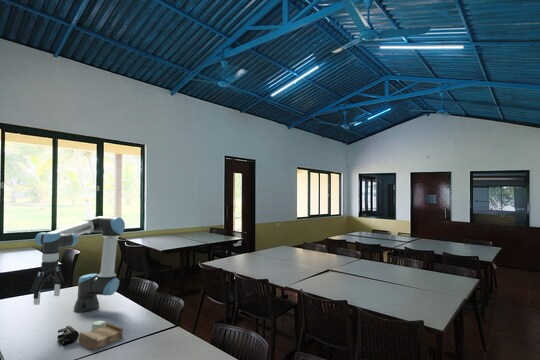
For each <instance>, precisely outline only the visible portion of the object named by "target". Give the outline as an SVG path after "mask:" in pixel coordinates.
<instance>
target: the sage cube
mask: <svg viewBox="0 0 540 360" xmlns="http://www.w3.org/2000/svg"><path fill="white" fill-rule="evenodd" d="M106 323H107V321H105V320H98V321H95V322H93V323H92V324H91V331H93V330H95V329H98V328H101V327H103V326H106Z"/></svg>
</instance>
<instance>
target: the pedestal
mask: <svg viewBox="0 0 540 360" xmlns="http://www.w3.org/2000/svg"><path fill="white" fill-rule="evenodd" d="M123 331H124V327H121V326H118V325H115V324H113V323H110V322H106V326H103V327H101V328H98V329H95V330H93V331H92V330H91V331H88V332H83V331H81V332H79V337H78V344H80V345H83V346H85V347H87V348H89V349H91V350H93V351H96V350H98V349H100V348H103V347H105V346H108V345H110V344H112V343H114V342H117V341H119V340H121V339H123V334H124V332H123Z"/></svg>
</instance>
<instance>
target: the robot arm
mask: <svg viewBox="0 0 540 360" xmlns="http://www.w3.org/2000/svg"><path fill="white" fill-rule="evenodd" d="M125 228H126V223H125V221H124V219H123V218H122V217H119V216H110V215H109V216H105V215H99V216H96V217H91V218H87V219H84V220H83V221H82V222H79V223H75V224H73V225H69V226H65V227H63V228H58V229H57V230H52V231H48V232H45V231H44V232H39V233H37V234H36V236H35V238H34V240H35V241H34V242H35V244H36V245H38V246H42V253H41V254H42V255H41V257H42V258H41V263H40V264H41V269H42V271H38V272H37V273H36V277H35V279H34V281H33V283H32V286H31V288H30V290H29V292H30V293H33V297H32V298H33V305H34V306H35V305H36V306H37V305H39V306H40V303H41V293H42V292H41V289H42V287H43V286H44V285H45V283H46V281H47V280H49V279H50V278H51V279H52V280H53V282H54V283H55V284H54V289H53V297H60V292H61V287H62V286H61V285H63V283H64V282H65V280H64V275H63V273H62V267H61V266H59V259H60V249H63V248H64V249H65V248H68V247H69V248H70V247H73V246H75V245H77V244H78V242H79V236H81V235H84V234H91V233H101V236H102V237H103V244H102V253H101V254H102V255H101V262H100V263H101V264H100V272H99V273H88V274H85V275H81V276H80V277H79V278H78V283H77V284H78V285H77V299H76V301H75V303H74V305H73V311H74V312H76V313H87V312H92V311H95V310H97V309H98V308H99V307H100V301H99V298H98V295H99V296H112V295H114V294H115V293H116V291H117V290H118V289H119V286H120V279H118V277H117V273H116V272H115V267H116V257H117V247H118V238H120V236H121V234H123V233H124V231H125Z"/></svg>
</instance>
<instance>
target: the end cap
mask: <svg viewBox="0 0 540 360" xmlns="http://www.w3.org/2000/svg"><path fill="white" fill-rule="evenodd" d="M57 333H58V334H57V342H58V343H59V344H60V345H61V346H63V347H65V346H70V345H73V344H74V343H75V342H77V340H79V335H80V332H79V331H77V330H76V329H75V328H74V327H72V326H71V325H66V326H65V327H63V328H61V329H58V330H57ZM60 333H61V334H60Z"/></svg>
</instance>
